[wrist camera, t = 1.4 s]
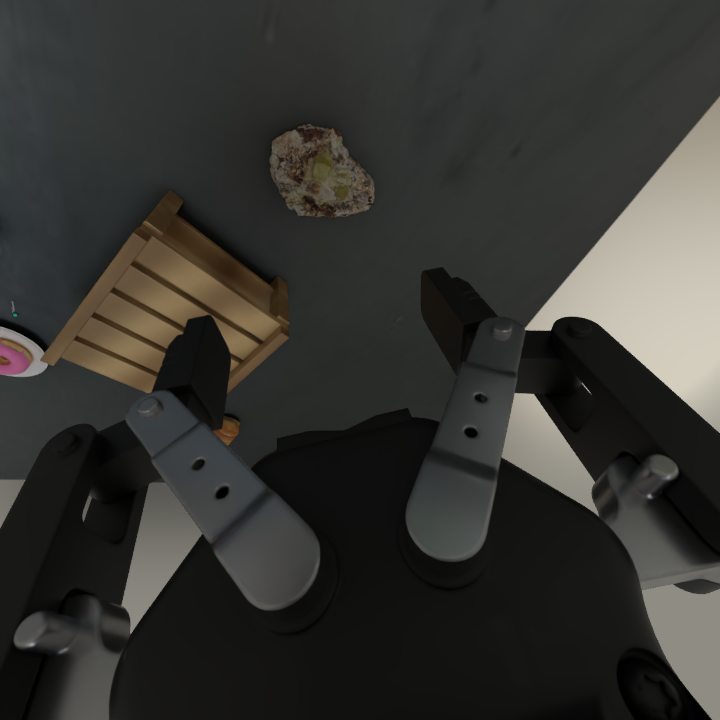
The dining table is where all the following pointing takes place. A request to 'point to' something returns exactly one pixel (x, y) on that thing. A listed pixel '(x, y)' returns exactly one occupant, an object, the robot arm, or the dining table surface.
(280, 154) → the mineral rock
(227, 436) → the pastry
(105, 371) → the rack
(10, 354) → the donut
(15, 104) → the dining table surface
